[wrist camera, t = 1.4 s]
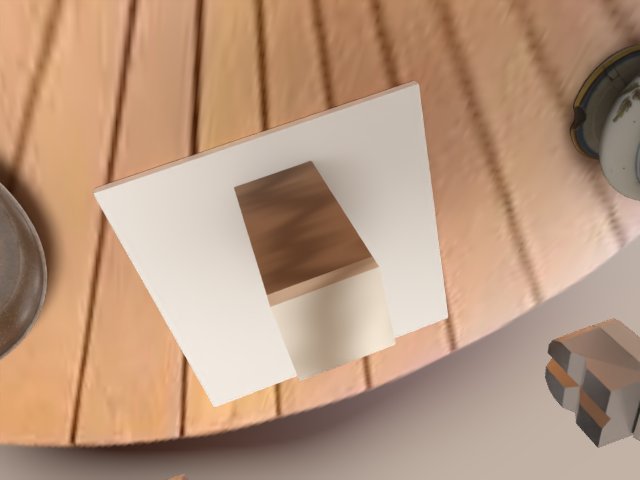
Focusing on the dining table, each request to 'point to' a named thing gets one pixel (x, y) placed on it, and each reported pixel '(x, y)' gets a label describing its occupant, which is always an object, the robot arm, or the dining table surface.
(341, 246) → the walnut block
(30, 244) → the plant saucer
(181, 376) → the dining table surface
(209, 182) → the white mat
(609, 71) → the apothecary jar
